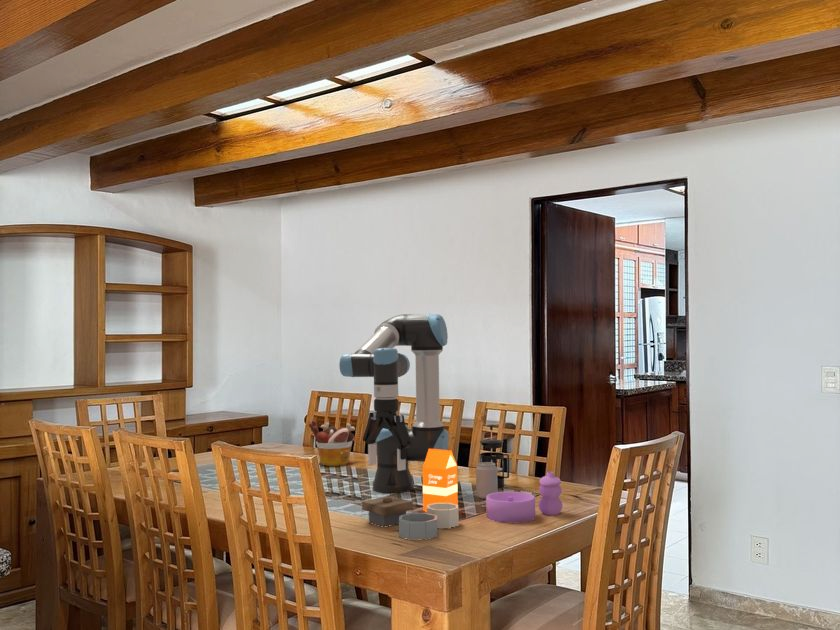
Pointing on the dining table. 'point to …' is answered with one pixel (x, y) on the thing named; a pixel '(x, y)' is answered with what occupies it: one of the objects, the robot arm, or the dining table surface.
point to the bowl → (445, 514)
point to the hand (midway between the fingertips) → (386, 467)
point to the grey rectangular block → (384, 518)
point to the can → (486, 479)
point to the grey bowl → (418, 526)
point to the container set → (525, 502)
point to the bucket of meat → (333, 443)
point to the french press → (495, 456)
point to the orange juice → (439, 478)
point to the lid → (387, 505)
